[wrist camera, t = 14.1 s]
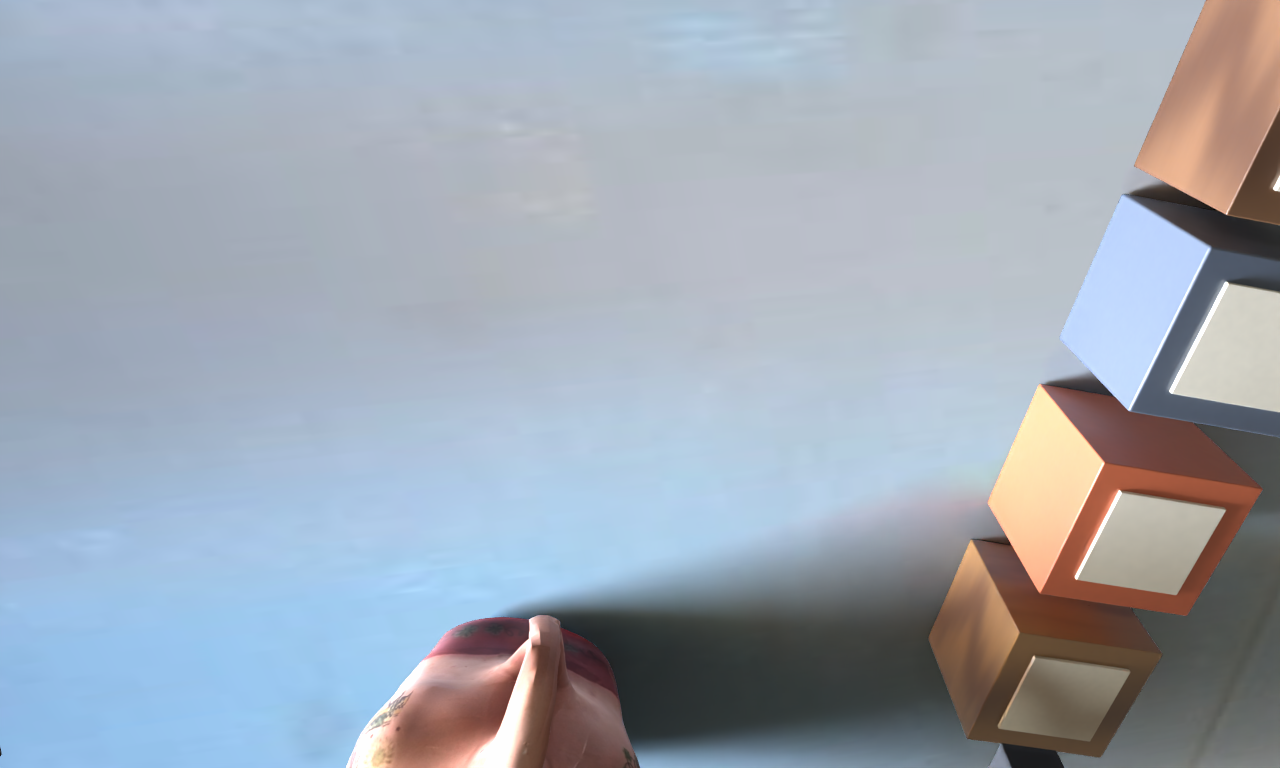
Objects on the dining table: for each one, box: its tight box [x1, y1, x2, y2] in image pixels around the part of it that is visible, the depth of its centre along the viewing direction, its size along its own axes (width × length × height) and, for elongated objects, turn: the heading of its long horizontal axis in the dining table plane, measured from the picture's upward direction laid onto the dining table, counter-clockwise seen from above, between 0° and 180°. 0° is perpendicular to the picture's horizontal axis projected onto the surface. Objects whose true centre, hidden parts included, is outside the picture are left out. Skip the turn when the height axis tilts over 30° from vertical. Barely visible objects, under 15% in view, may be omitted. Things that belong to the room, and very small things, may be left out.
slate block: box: [1060, 194, 1280, 437], centre depth 32 cm, size 6×6×6 cm
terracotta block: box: [988, 384, 1263, 616], centre depth 36 cm, size 6×6×6 cm
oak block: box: [928, 539, 1162, 758], centre depth 40 cm, size 6×6×6 cm
